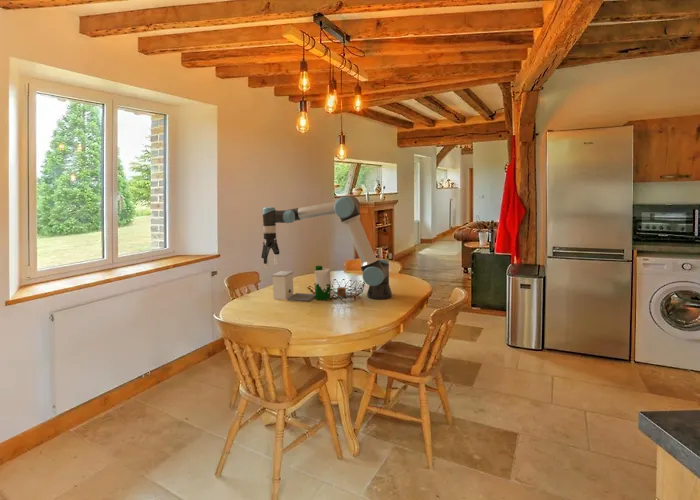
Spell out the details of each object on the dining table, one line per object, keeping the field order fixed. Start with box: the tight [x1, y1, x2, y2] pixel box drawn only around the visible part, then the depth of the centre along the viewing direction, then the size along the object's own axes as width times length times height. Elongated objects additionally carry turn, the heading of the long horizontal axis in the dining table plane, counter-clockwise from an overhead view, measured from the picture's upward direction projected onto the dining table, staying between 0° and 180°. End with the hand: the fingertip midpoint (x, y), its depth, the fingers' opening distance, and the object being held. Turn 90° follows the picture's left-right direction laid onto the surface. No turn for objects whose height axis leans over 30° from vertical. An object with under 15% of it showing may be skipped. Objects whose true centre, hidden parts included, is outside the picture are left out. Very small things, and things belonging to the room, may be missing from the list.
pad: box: [286, 292, 316, 303], centre depth 268 cm, size 14×14×1 cm
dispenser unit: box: [271, 270, 295, 301], centre depth 270 cm, size 9×13×15 cm
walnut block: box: [336, 286, 347, 298], centre depth 271 cm, size 5×5×5 cm
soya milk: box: [314, 265, 332, 301], centre depth 264 cm, size 9×9×20 cm
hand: (271, 266), depth 271 cm, fingers open, 13 cm apart
